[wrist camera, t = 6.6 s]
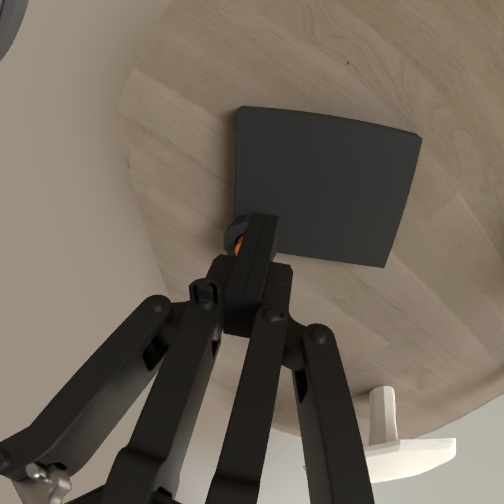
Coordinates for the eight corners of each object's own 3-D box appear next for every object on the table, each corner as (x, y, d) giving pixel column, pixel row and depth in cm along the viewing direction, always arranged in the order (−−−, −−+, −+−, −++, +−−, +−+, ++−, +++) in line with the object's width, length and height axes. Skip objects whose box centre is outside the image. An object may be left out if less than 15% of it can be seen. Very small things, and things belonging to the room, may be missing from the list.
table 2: (306, 355, 46) (295, 452, 32) (468, 340, 38) (489, 429, 25) (314, 420, 61) (306, 485, 48) (428, 412, 53) (433, 475, 40)
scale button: (237, 252, 32) (234, 261, 31) (238, 231, 31) (234, 240, 29) (261, 256, 32) (259, 265, 31) (263, 235, 30) (261, 243, 29)
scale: (231, 245, 36) (223, 263, 33) (234, 105, 26) (224, 111, 23) (378, 266, 34) (382, 286, 31) (416, 133, 24) (428, 143, 21)
